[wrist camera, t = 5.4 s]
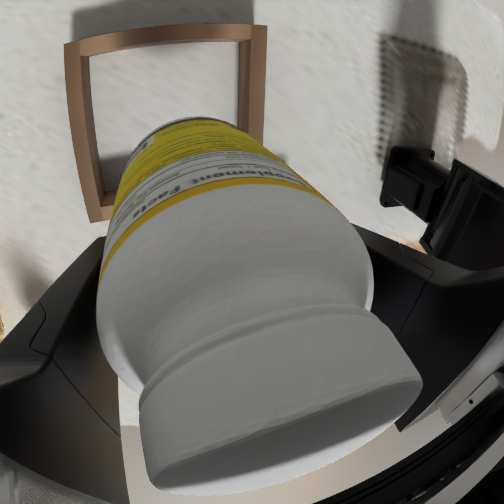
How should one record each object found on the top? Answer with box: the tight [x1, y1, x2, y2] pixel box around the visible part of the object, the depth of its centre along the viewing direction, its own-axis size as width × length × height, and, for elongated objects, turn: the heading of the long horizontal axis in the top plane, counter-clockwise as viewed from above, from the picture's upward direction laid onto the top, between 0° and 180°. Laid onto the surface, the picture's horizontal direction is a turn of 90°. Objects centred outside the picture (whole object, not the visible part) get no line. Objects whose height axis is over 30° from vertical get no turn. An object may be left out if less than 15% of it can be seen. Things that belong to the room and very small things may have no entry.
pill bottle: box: [96, 116, 423, 496], centre depth 8 cm, size 6×6×11 cm
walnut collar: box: [64, 23, 267, 223], centre depth 17 cm, size 12×12×2 cm
